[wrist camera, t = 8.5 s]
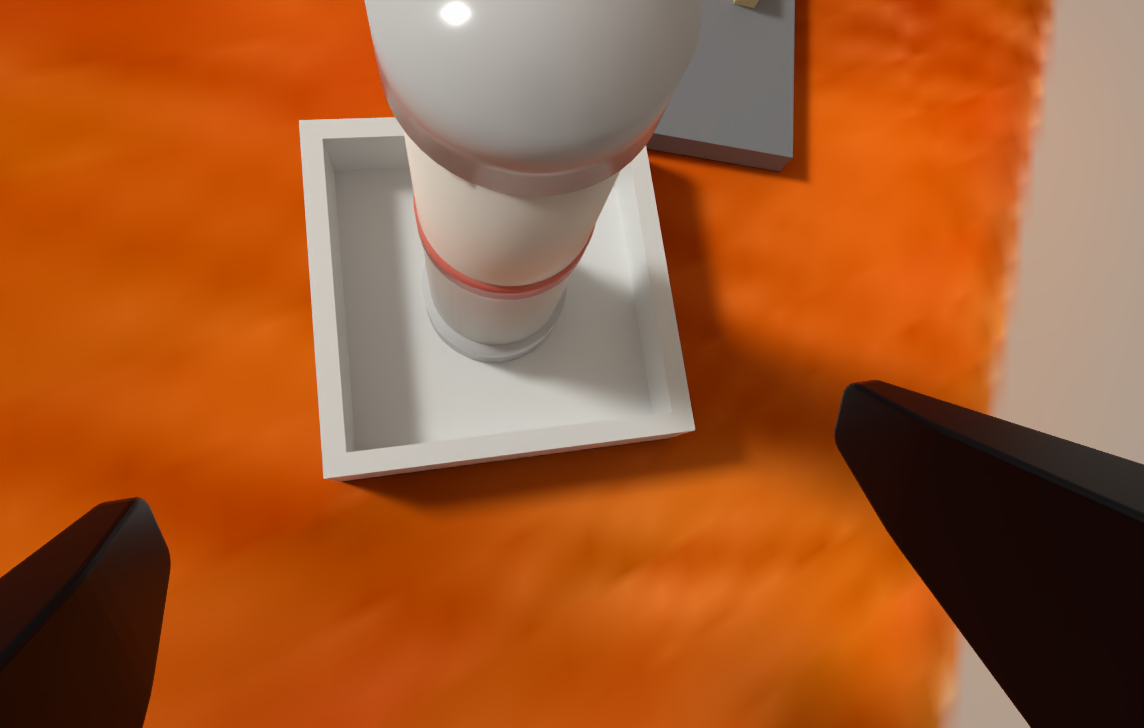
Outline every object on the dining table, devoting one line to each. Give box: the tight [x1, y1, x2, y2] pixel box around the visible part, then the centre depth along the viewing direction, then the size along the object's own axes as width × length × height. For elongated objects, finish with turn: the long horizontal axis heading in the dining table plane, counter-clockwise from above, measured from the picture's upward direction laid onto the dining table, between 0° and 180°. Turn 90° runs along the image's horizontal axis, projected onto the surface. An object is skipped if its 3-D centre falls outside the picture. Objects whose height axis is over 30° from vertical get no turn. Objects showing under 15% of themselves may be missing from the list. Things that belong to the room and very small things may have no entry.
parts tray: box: [299, 117, 695, 482], centre depth 20 cm, size 10×10×2 cm
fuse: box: [365, 0, 702, 363], centre depth 14 cm, size 4×4×13 cm
